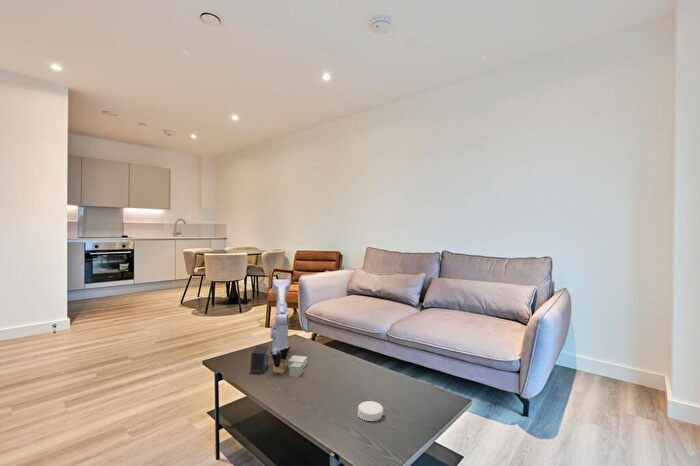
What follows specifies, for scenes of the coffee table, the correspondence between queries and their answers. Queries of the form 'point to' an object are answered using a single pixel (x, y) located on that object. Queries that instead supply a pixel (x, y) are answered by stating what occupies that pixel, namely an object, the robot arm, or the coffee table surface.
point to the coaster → (370, 410)
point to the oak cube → (281, 367)
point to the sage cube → (296, 369)
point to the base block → (297, 360)
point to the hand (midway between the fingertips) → (280, 363)
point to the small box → (259, 359)
